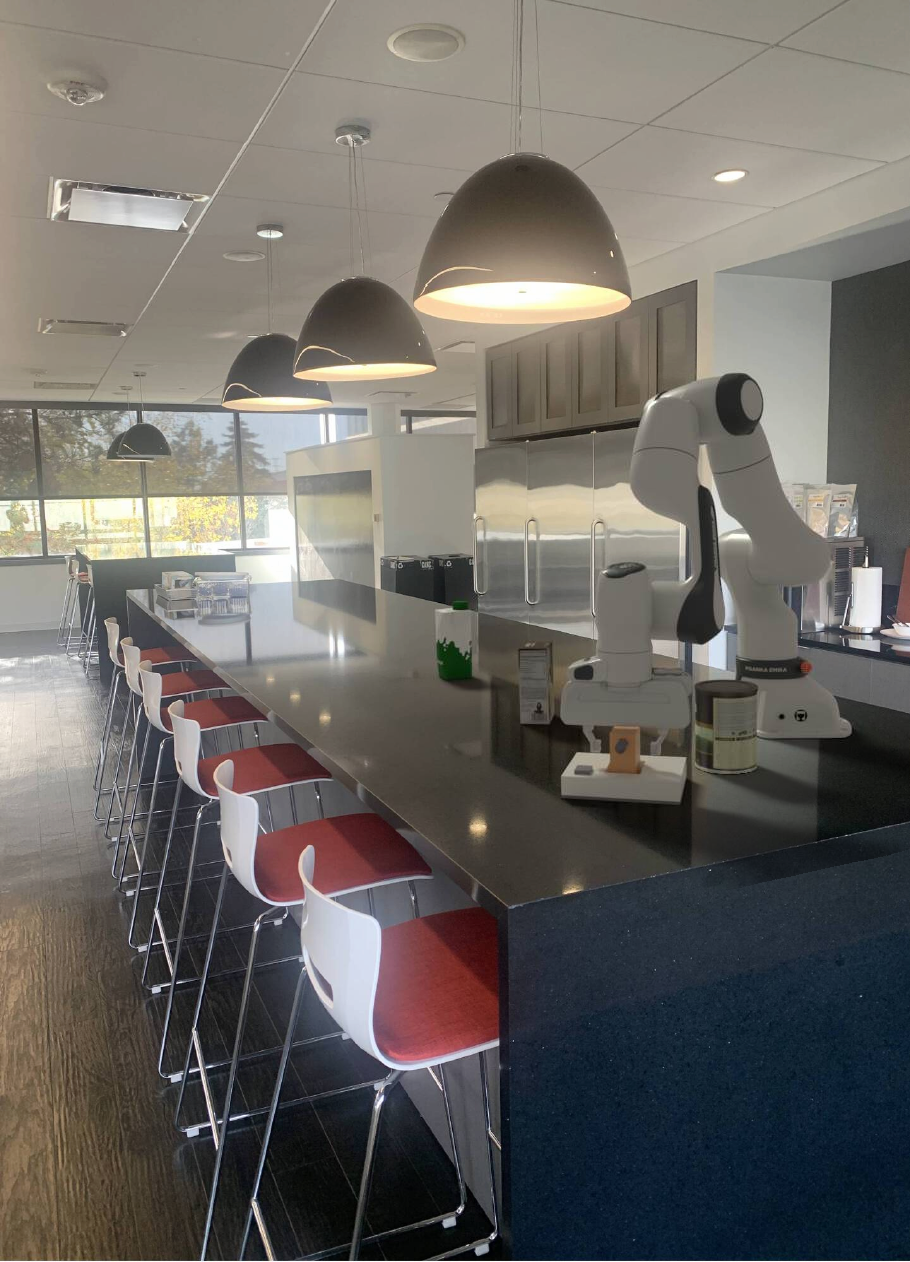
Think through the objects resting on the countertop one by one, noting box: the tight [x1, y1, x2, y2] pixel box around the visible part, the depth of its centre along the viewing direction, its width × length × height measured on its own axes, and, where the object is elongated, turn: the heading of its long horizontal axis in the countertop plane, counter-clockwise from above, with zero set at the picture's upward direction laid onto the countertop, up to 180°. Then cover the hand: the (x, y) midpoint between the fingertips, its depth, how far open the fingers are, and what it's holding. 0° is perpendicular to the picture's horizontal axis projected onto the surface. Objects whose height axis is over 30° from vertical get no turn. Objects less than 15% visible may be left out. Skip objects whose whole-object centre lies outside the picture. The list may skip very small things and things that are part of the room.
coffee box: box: [517, 640, 555, 725], centre depth 198 cm, size 9×6×16 cm
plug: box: [609, 726, 641, 774], centre depth 149 cm, size 4×9×9 cm, turn 162°
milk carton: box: [434, 600, 473, 681], centre depth 249 cm, size 9×9×20 cm
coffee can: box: [693, 679, 758, 775], centre depth 159 cm, size 10×10×14 cm
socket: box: [560, 751, 687, 806], centre depth 151 cm, size 18×14×4 cm
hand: (625, 752), depth 150 cm, fingers open, 8 cm apart
